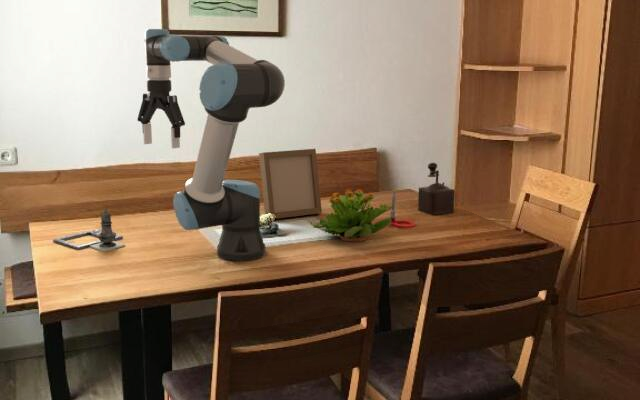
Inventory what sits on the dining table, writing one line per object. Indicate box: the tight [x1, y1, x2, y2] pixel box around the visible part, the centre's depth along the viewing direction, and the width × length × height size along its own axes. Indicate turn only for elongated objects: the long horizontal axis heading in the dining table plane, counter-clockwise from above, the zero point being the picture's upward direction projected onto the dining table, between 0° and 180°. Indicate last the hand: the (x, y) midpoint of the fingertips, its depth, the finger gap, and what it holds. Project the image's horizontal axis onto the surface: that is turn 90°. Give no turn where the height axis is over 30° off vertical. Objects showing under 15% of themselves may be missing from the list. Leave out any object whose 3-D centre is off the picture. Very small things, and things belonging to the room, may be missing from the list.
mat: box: [89, 240, 126, 253], centre depth 225 cm, size 8×8×1 cm
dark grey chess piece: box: [97, 208, 117, 248], centre depth 224 cm, size 6×6×12 cm
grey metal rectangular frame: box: [52, 228, 124, 251], centre depth 232 cm, size 14×17×1 cm
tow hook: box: [387, 189, 416, 229], centre depth 254 cm, size 8×13×9 cm
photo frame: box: [258, 148, 323, 220], centre depth 266 cm, size 15×22×25 cm
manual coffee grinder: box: [417, 162, 456, 216], centre depth 276 cm, size 16×11×18 cm
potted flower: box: [309, 188, 393, 243], centre depth 236 cm, size 25×24×18 cm
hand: (161, 145), depth 226 cm, fingers open, 13 cm apart
